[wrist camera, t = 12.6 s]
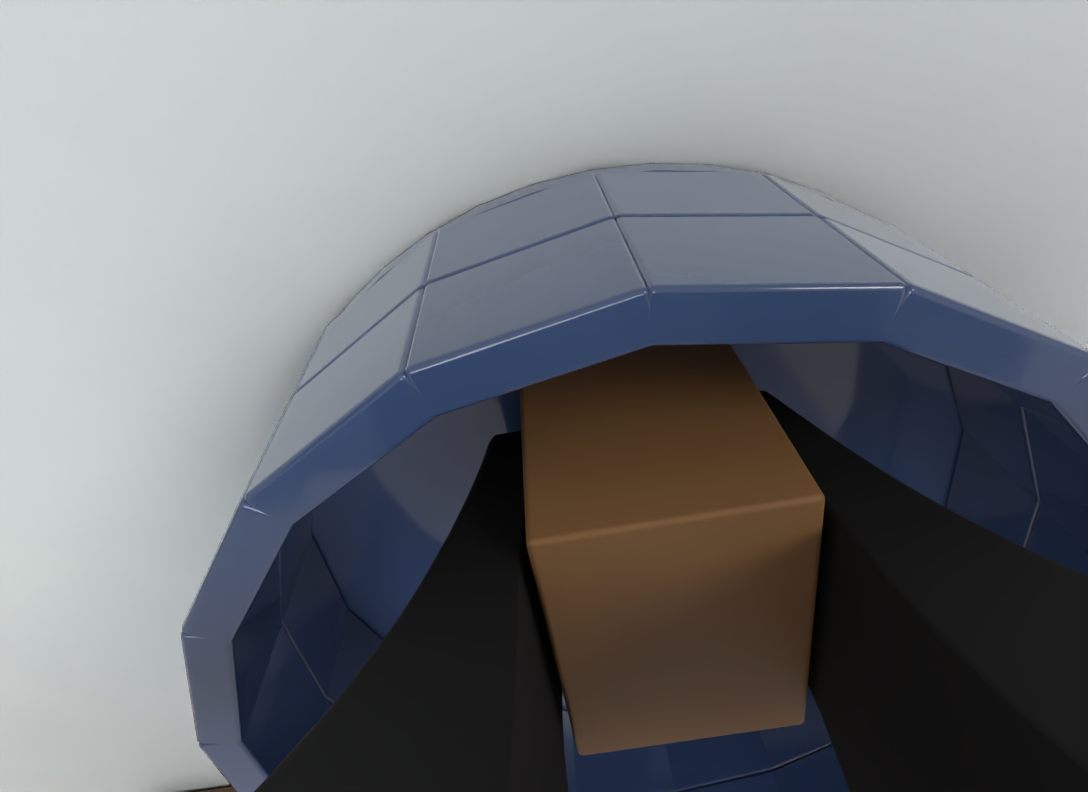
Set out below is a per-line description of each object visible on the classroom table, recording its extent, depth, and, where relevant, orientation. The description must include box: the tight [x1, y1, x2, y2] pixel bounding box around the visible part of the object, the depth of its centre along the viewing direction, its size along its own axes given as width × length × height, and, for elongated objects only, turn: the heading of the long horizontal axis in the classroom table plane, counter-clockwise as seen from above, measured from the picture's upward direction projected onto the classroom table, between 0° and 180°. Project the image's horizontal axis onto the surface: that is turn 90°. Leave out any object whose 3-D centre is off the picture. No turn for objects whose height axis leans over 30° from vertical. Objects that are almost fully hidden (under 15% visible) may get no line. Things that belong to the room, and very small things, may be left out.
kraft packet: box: [519, 344, 825, 755], centre depth 9 cm, size 3×4×4 cm
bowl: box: [181, 163, 1088, 792], centre depth 11 cm, size 13×13×4 cm
